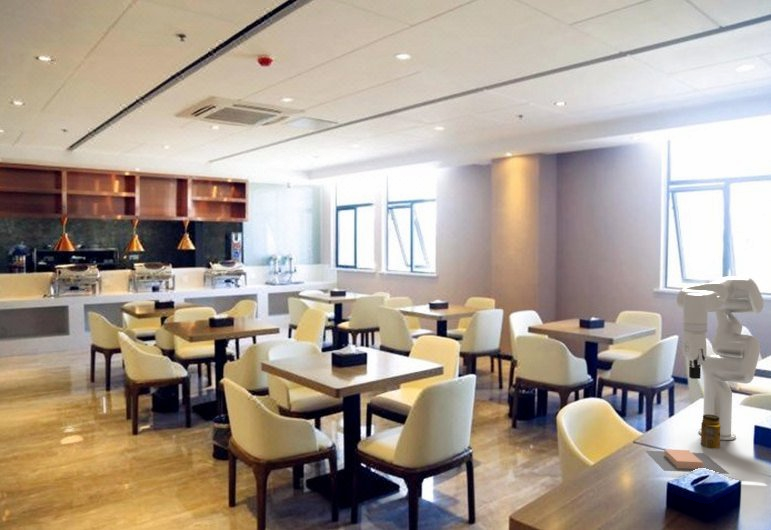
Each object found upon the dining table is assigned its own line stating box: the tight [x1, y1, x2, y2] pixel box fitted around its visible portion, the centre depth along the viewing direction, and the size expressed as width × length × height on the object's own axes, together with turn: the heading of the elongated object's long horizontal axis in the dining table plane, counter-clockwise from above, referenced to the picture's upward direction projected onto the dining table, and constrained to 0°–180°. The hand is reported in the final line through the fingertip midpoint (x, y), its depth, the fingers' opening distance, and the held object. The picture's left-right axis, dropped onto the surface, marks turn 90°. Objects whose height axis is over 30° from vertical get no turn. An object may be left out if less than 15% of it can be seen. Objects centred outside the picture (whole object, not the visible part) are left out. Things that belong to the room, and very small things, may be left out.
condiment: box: [700, 414, 721, 449], centre depth 205 cm, size 7×8×12 cm
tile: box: [663, 448, 703, 469], centre depth 189 cm, size 2×8×11 cm
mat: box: [645, 450, 730, 475], centre depth 190 cm, size 18×20×1 cm
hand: (694, 378), depth 201 cm, fingers closed
